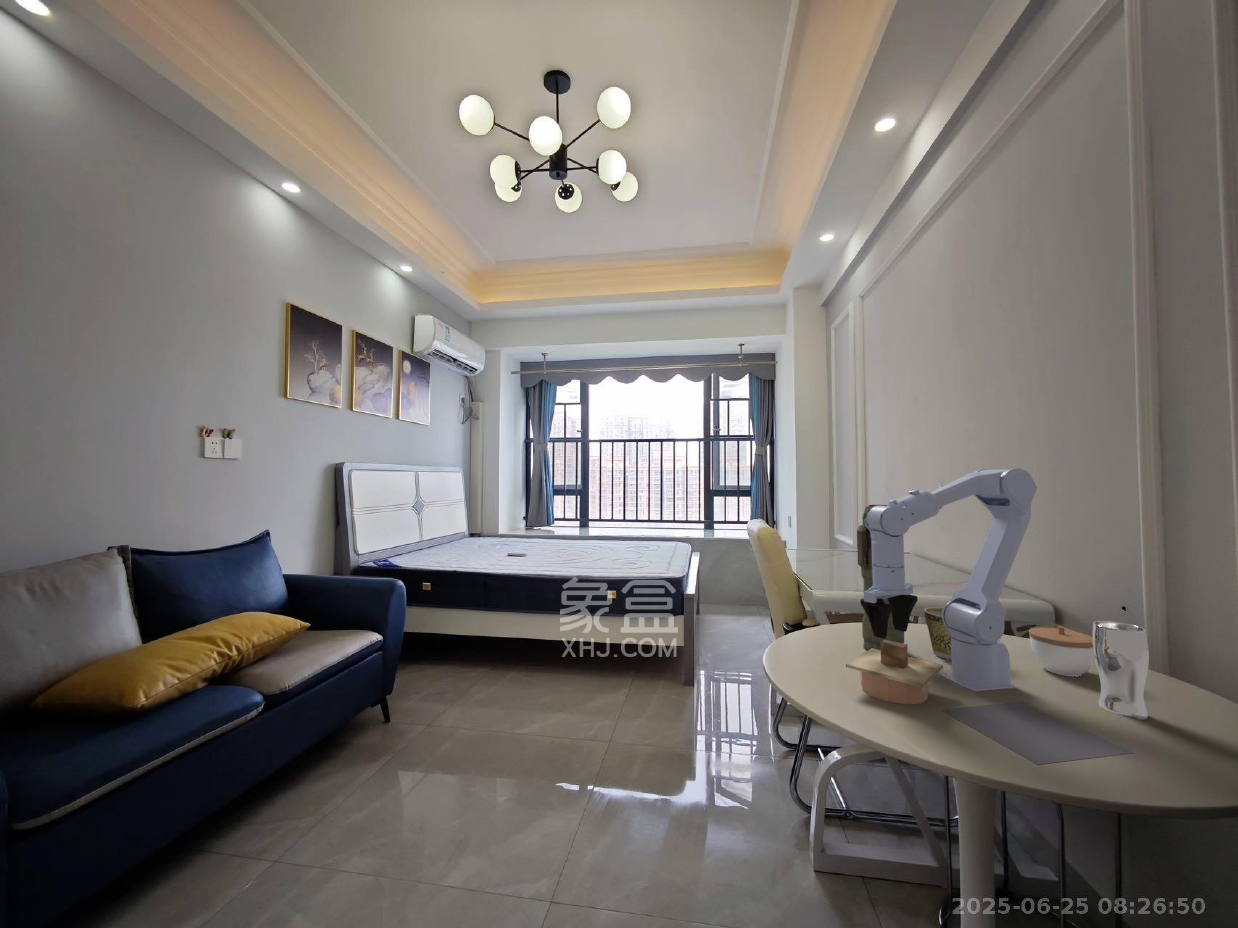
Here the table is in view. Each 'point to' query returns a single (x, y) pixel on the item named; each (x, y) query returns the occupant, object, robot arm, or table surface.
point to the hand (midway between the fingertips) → (890, 633)
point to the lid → (895, 664)
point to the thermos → (867, 574)
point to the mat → (1035, 733)
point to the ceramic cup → (938, 632)
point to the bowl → (893, 689)
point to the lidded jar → (1062, 650)
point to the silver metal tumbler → (1121, 666)
